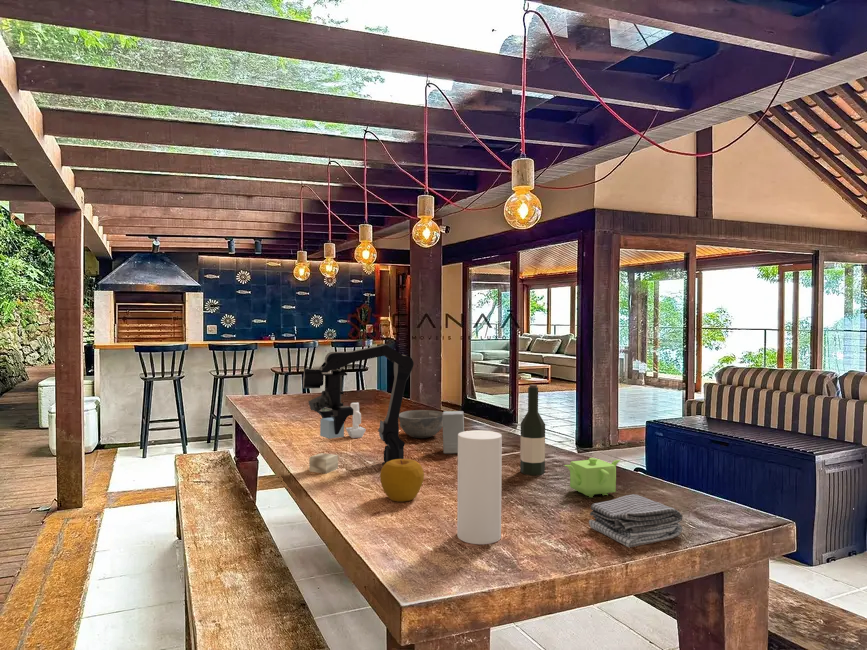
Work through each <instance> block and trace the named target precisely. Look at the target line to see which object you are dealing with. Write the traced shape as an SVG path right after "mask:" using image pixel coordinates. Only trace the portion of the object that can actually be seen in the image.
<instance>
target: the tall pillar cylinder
mask: <svg viewBox="0 0 867 650" xmlns="http://www.w3.org/2000/svg"><path fill="white" fill-rule="evenodd" d="M502 440H503V435H502V433H500V432H497V431H492V430H478V429H477V430H466V431H465V430H464V432H461V433H459V434H458V453H457V508H456V509H457V512H456V513H457V514H456V515H457V518H456V520H457V523H456V525H457V527H456V528H457V529H456V530H457V533H456V535H457V538H458V539H459V540H460V541H463V542H464V543H467V544H472V545H489V544H495V543H496V542H498V541H500V539H501V538H502V470H503V469H502V460H503V459H502V455H503V453H502V452H503V451H502V450H503V449H502V448H503V447H502V446H503V445H502V444H503V443H502V442H503V441H502Z"/></svg>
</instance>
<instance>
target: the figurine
mask: <svg viewBox="0 0 867 650" xmlns="http://www.w3.org/2000/svg"><path fill="white" fill-rule="evenodd" d="M350 407H352V408H353V409H354V410H353V415H351V416H352V426H350V427H348V426H347V427H345V430H346V432H347V434H348V437H350V438H352V439H359V438H360V439H361V438H363V436H364V435H365V433H366V430H367V429H366V428H365V427H363V426H359V425H361V423H362V413H361V412H360V402H351V403H350Z"/></svg>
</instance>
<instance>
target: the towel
mask: <svg viewBox="0 0 867 650" xmlns="http://www.w3.org/2000/svg"><path fill="white" fill-rule="evenodd" d="M590 509H591V511H590V513H589V515H590V516H591V517H592V518H593V519H589V520H588V524H589V527H590V528H591V529H593V531H596V532H598V533H600V534H603V535H605V536H606V537H608V538H610V539H612V540H614V541H616V542H617V543H620V544H621V545H624V546H625V547H627V548H632V547H637V546H642V545H647V544H648V545H649V544H654V543H657V542H664V541H668V540H673V539H675V538H677V537H679V536H680V535H681V533H682V531H683V526H682V525H681V524H680V522H681V521H683V515H682V513H681V512H680V511H679V510H677V509H676V508H674V507H671V506H667V505H665V504H663V503H661V502H660V501H659V502H658V501H655V500H652V499H649V498H647V497H645V496H642V495H639V494H634V493H632V494H626V495H622V496H620V497H617V498H614V499H610V500H605V501H599V502H594V503H592V504H591V506H590Z"/></svg>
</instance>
